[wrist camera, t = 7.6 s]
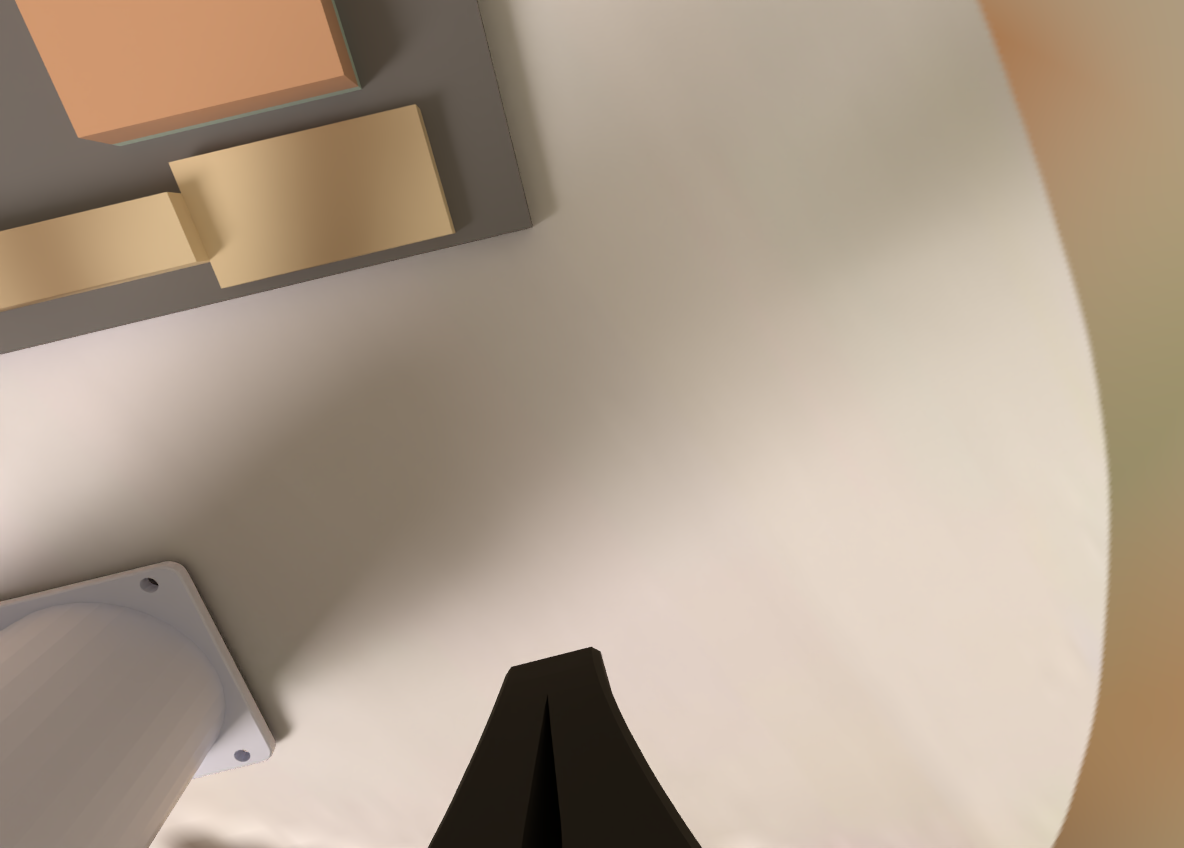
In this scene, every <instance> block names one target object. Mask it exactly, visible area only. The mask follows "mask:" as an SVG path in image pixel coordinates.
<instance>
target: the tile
mask: <svg viewBox="0 0 1184 848" xmlns="http://www.w3.org/2000/svg"><path fill="white" fill-rule="evenodd" d="M15 2H16V4H17V6H18V8H19V10H20V12H21V15H22V17H23V19H24V21H25V23H26V25H27V28H28V30H29V32H30V34H31V36H32V38H33V41H34V43H35V45H36V47H37V49H38V51H39V54H40V56H41V58H42V60H43V62H44V65H45V67H46V69H47V71H48V73H49V75H50V78H51V80H52V82H53V84H54V86H55V88H56V91H57V93H58V95H59V97H60V99H61V101H62V104H63V106H64V108H65V110H66V112H67V114H68V117H69V119H70V121H71V123H72V125H73V128H74V130H75V132H76V134H77V136H78V138H82V139H87V140H92V141H97V142H102V143H107V144H112V145H117V146H123V145H127V144H132V143H136V142H140V141H144V140H149V139H153V138H157V137H161V136H166V135H170V134H174V133H178V132H183V131H187V130H191V129H195V128H200V127H204V126H208V125H212V124H216V123H221V122H225V121H229V120H233V119H238V118H242V117H246V116H250V115H255V114H259V113H263V112H267V111H272V110H276V109H280V108H284V107H289V106H293V105H297V104H301V103H306V102H310V101H314V100H318V99H323V98H327V97H331V96H335V95H339V94H344V93H348V92H352V91H356V90H361V89H362V88H361V85H360V81H359V78H358V75H357V72H356V69H355V65H354V62H353V59H352V56H351V53H350V49H349V46H348V43H347V40H346V37H345V33H344V30H343V27H342V24H341V21H340V17H339V14H338V11H337V8H336V5H335V1H334V0H15Z"/></svg>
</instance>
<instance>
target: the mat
mask: <svg viewBox="0 0 1184 848" xmlns="http://www.w3.org/2000/svg"><path fill="white" fill-rule="evenodd" d="M334 1H335V5H336V8H337V11H338V14H339V17H340V21H341V24H342V27H343V30H344V33H345V37H346V40H347V43H348V46H349V49H350V53H351V56H352V59H353V62H354V65H355V69H356V72H357V75H358V78H359V81H360V85H361V88H362V89H361V90H356V91H352V92H348V93H344V94H339V95H335V96H331V97H327V98H323V99H318V100H314V101H310V102H306V103H301V104H297V105H293V106H289V107H284V108H280V109H276V110H272V111H267V112H263V113H259V114H255V115H250V116H246V117H242V118H238V119H233V120H229V121H225V122H221V123H216V124H212V125H208V126H204V127H200V128H195V129H191V130H187V131H183V132H178V133H174V134H170V135H166V136H161V137H157V138H153V139H149V140H144V141H140V142H136V143H132V144H127V145H123V146H117V145H112V144H107V143H102V142H97V141H92V140H87V139H82V138H78V136H77V134H76V132H75V130H74V128H73V125H72V123H71V121H70V119H69V117H68V114H67V112H66V110H65V108H64V106H63V104H62V101H61V99H60V97H59V95H58V93H57V91H56V88H55V86H54V84H53V82H52V80H51V78H50V75H49V73H48V71H47V69H46V67H45V65H44V62H43V60H42V58H41V56H40V54H39V51H38V49H37V47H36V45H35V43H34V41H33V38H32V36H31V34H30V32H29V30H28V28H27V25H26V23H25V21H24V19H23V17H22V15H21V12H20V10H19V8H18V6H17V4H16V2H15V0H0V231H4V230H8V229H12V228H16V227H21V226H25V225H29V224H33V223H37V222H42V221H46V220H50V219H54V218H59V217H63V216H67V215H71V214H76V213H80V212H84V211H88V210H92V209H97V208H101V207H105V206H109V205H114V204H118V203H122V202H126V201H130V200H135V199H139V198H143V197H147V196H152V195H156V194H160V193H164V192H173V193H181V191H180V189H179V187H178V184H177V182H176V180H175V177H174V175H173V172H172V170H171V168H170V165H169V163H168V162H173V161H177V160H181V159H185V158H189V157H194V156H198V155H202V154H206V153H211V152H215V151H219V150H223V149H228V148H232V147H236V146H240V145H244V144H249V143H253V142H257V141H261V140H266V139H270V138H274V137H278V136H283V135H287V134H291V133H295V132H300V131H304V130H308V129H312V128H316V127H321V126H325V125H329V124H333V123H338V122H342V121H346V120H350V119H355V118H359V117H363V116H367V115H371V114H376V113H380V112H384V111H388V110H393V109H397V108H401V107H405V106H410V105H414V104H416V105H417V106H418V107H419V108H420V110H421V114H422V117H423V121H424V124H425V128H426V131H427V135H428V138H429V142H430V145H431V149H432V152H433V156H434V159H435V163H436V166H437V170H438V173H439V177H440V180H441V184H442V187H443V191H444V194H445V198H446V201H447V205H448V208H449V212H450V215H451V219H452V222H453V226H454V229H455V233H454V234H449V235H445V236H441V237H437V238H433V239H429V240H424V241H420V242H416V243H412V244H408V245H403V246H399V247H395V248H391V249H387V250H383V251H378V252H374V253H370V254H366V255H362V256H357V257H353V258H349V259H345V260H341V261H336V262H332V263H328V264H324V265H320V266H316V267H311V268H307V269H303V270H299V271H295V272H290V273H286V274H282V275H278V276H274V277H270V278H265V279H261V280H257V281H253V282H249V283H244V284H240V285H236V286H232V287H226V288H221V287H220V284H219V282H218V279H217V277H216V275H215V272H214V270H213V268H212V265H211V263H210V262H208V263H204V264H200V265H196V266H192V267H187V268H183V269H179V270H175V271H171V272H166V273H162V274H158V275H154V276H150V277H145V278H141V279H137V280H133V281H129V282H124V283H120V284H116V285H112V286H108V287H104V288H99V289H95V290H91V291H87V292H83V293H78V294H74V295H70V296H66V297H62V298H57V299H53V300H49V301H45V302H41V303H36V304H32V305H28V306H24V307H20V308H15V309H11V310H7V311H3V312H0V354H4V353H9V352H13V351H17V350H21V349H25V348H30V347H34V346H38V345H42V344H46V343H50V342H55V341H59V340H63V339H67V338H71V337H76V336H80V335H84V334H88V333H92V332H96V331H101V330H105V329H109V328H113V327H117V326H121V325H126V324H130V323H134V322H138V321H142V320H147V319H151V318H155V317H159V316H163V315H167V314H172V313H176V312H180V311H184V310H188V309H193V308H197V307H201V306H205V305H209V304H213V303H218V302H222V301H226V300H230V299H234V298H239V297H243V296H247V295H251V294H255V293H259V292H264V291H268V290H272V289H276V288H280V287H285V286H289V285H293V284H297V283H301V282H305V281H310V280H314V279H318V278H322V277H326V276H331V275H335V274H339V273H343V272H347V271H351V270H356V269H360V268H364V267H368V266H372V265H376V264H381V263H385V262H389V261H393V260H397V259H402V258H406V257H410V256H414V255H418V254H422V253H427V252H431V251H435V250H439V249H443V248H448V247H452V246H456V245H460V244H464V243H468V242H473V241H477V240H481V239H485V238H489V237H494V236H498V235H502V234H506V233H510V232H514V231H519V230H523V229H527V228H531V227H532V223H531V219H530V215H529V210H528V206H527V202H526V198H525V194H524V190H523V186H522V182H521V178H520V174H519V170H518V166H517V162H516V158H515V153H514V149H513V145H512V141H511V137H510V133H509V129H508V125H507V121H506V117H505V113H504V109H503V105H502V101H501V97H500V92H499V88H498V84H497V80H496V76H495V72H494V68H493V64H492V60H491V56H490V52H489V48H488V44H487V40H486V35H485V31H484V27H483V23H482V19H481V15H480V11H479V7H478V3H477V0H334Z"/></svg>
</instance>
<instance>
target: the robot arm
mask: <svg viewBox="0 0 1184 848" xmlns="http://www.w3.org/2000/svg"><path fill="white" fill-rule="evenodd" d="M148 578H151V579H154V580H155V581H156V582H157V583H158V585H154V584H152V583H151V582H150V581H149V580H148ZM275 747H276V743H275V740H274V738H273V736H272V734H271V732H270V730H269V728H268V726H267V724H266V722H265V720H264V718H263V716H262V715H261V713H260V711H259V709H258V707H257V705H256V703H255V701H254V699H253V697H252V695H251V693H250V691H249V689H248V687H247V686H246V684H245V682H244V680H243V678H242V676H241V674H240V672H239V670H238V668H237V666H236V664H235V662H234V660H233V658H232V657H231V655H230V653H229V651H228V649H227V647H226V645H225V643H224V641H223V639H222V637H221V635H220V633H219V631H218V629H217V628H216V626H215V624H214V622H213V620H212V618H211V616H210V614H209V612H208V610H207V608H206V606H205V604H204V602H203V600H202V599H201V597H200V595H199V593H198V591H197V589H196V587H195V585H194V583H193V581H192V579H191V577H190V575H189V573H188V572H187V570H186V569H185V568H184V566H182V565H180V564H179V563H177V562H173V561H165V562H161V563H156V564H152V565H148V566H144V567H140V568H136V569H132V570H128V571H124V572H120V573H115V574H111V575H107V576H103V577H99V578H95V579H91V580H87V581H83V582H79V583H74V584H70V585H66V586H62V587H58V588H54V589H50V590H46V591H42V592H38V593H33V594H29V595H25V596H21V597H17V598H13V599H9V600H5V601H1V602H0V848H149V846H150V844H151V843H152V841H153V840H154V838H155V836H156V835H157V833H158V832H159V830H160V829H161V827H162V825H163V824H164V822H165V821H166V819H167V817H168V816H169V814H170V813H171V811H172V809H173V808H174V806H175V805H176V803H177V802H178V800H179V798H180V797H181V795H182V794H183V792H184V790H185V789H186V787H187V786H188V784H189V782H190V781H191V780H192V779H196V778H200V777H204V776H208V775H212V774H216V773H220V772H224V771H228V770H232V769H236V768H240V767H244V766H248V765H252V764H256V763H260V762H264V761H266V760H268V759H269V758H270V757H271V756H272V754H273V752H274V750H275ZM242 750H245V751H248V752H245V751H242ZM428 848H702V847H701V846H700V844H699V843H698V841H697V840H696V839H695V837H694V836H693V834H692V833H691V831H690V830H689V828H688V827H687V825H686V824H685V822H684V821H683V819H682V818H681V816H680V815H679V813H678V812H677V810H676V809H675V807H674V805H673V804H672V802H671V801H670V799H669V798H668V796H667V794H666V793H665V791H664V790H663V788H662V787H661V785H660V783H659V782H658V780H657V778H656V777H655V775H654V773H653V772H652V770H651V768H650V767H649V765H648V763H647V761H646V760H645V758H644V756H643V754H642V752H641V750H640V749H639V747H638V745H637V743H636V741H635V740H634V738H633V736H632V734H631V732H630V731H629V729H628V727H627V725H626V723H625V721H624V719H623V717H622V715H621V712H620V710H619V708H618V706H617V703H616V701H615V699H614V697H613V694H612V691H611V688H610V684H609V680H608V677H607V673H606V670H605V666H604V663H603V659H602V655H601V652H600V651H598V650H597V649H595V648H593V647H589V648H585V649H581V650H577V651H573V652H569V653H565V654H561V655H557V656H553V657H549V658H545V659H541V660H537V661H533V662H529V663H525V664H521V665H517V666H513V667H511V668H510V670H509V671H508V673H507V674H506V676H505V679H504V682H503V684H502V687H501V689H500V692H499V694H498V697H497V700H496V702H495V705H494V707H493V710H492V712H491V714H490V717H489V719H488V722H487V724H486V726H485V729H484V731H483V733H482V736H481V738H480V740H479V743H478V745H477V747H476V750H475V752H474V754H473V756H472V758H471V761H470V763H469V765H468V767H467V769H466V771H465V773H464V776H463V778H462V780H461V782H460V784H459V786H458V789H457V791H456V793H455V795H454V797H453V799H452V801H451V804H450V806H449V808H448V810H447V812H446V814H445V816H444V818H443V820H442V822H441V823H440V825H439V827H438V829H437V831H436V833H435V835H434V837H433V839H432V841H431V843H430V845H429V847H428Z"/></svg>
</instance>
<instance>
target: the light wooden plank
mask: <svg viewBox="0 0 1184 848" xmlns="http://www.w3.org/2000/svg"><path fill="white" fill-rule="evenodd" d="M168 163H169V165H170V168H171V170H172V172H173V175H174V177H175V180H176V182H177V184H178V187H179V189H180V191H181V193H173V192H164V193H160V194H156V195H152V196H147V197H143V198H139V199H135V200H130V201H126V202H122V203H118V204H114V205H109V206H105V207H101V208H97V209H92V210H88V211H84V212H80V213H76V214H71V215H67V216H63V217H59V218H54V219H50V220H46V221H42V222H37V223H33V224H29V225H25V226H21V227H16V228H12V229H8V230H4V231H0V312H3V311H7V310H11V309H15V308H20V307H24V306H28V305H32V304H36V303H41V302H45V301H49V300H53V299H57V298H62V297H66V296H70V295H74V294H78V293H83V292H87V291H91V290H95V289H99V288H104V287H108V286H112V285H116V284H120V283H124V282H129V281H133V280H137V279H141V278H145V277H150V276H154V275H158V274H162V273H166V272H171V271H175V270H179V269H183V268H187V267H192V266H196V265H200V264H204V263H208V262H210V263H211V265H212V268H213V270H214V272H215V275H216V277H217V279H218V282H219V284H220V287H221V288H226V287H232V286H236V285H240V284H244V283H249V282H253V281H257V280H261V279H265V278H270V277H274V276H278V275H282V274H286V273H290V272H295V271H299V270H303V269H307V268H311V267H316V266H320V265H324V264H328V263H332V262H336V261H341V260H345V259H349V258H353V257H357V256H362V255H366V254H370V253H374V252H378V251H383V250H387V249H391V248H395V247H399V246H403V245H408V244H412V243H416V242H420V241H424V240H429V239H433V238H437V237H441V236H445V235H449V234H454V233H455V229H454V226H453V222H452V219H451V215H450V212H449V208H448V205H447V201H446V198H445V194H444V191H443V187H442V184H441V180H440V177H439V173H438V170H437V166H436V163H435V159H434V156H433V152H432V149H431V145H430V142H429V138H428V135H427V131H426V128H425V124H424V121H423V117H422V114H421V110H420V108H419V107H418V106H417V105H416V104H414V105H410V106H405V107H401V108H397V109H393V110H388V111H384V112H380V113H376V114H371V115H367V116H363V117H359V118H355V119H350V120H346V121H342V122H338V123H333V124H329V125H325V126H321V127H316V128H312V129H308V130H304V131H300V132H295V133H291V134H287V135H283V136H278V137H274V138H270V139H266V140H261V141H257V142H253V143H249V144H244V145H240V146H236V147H232V148H228V149H223V150H219V151H215V152H211V153H206V154H202V155H198V156H194V157H189V158H185V159H181V160H177V161H173V162H168Z"/></svg>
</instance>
